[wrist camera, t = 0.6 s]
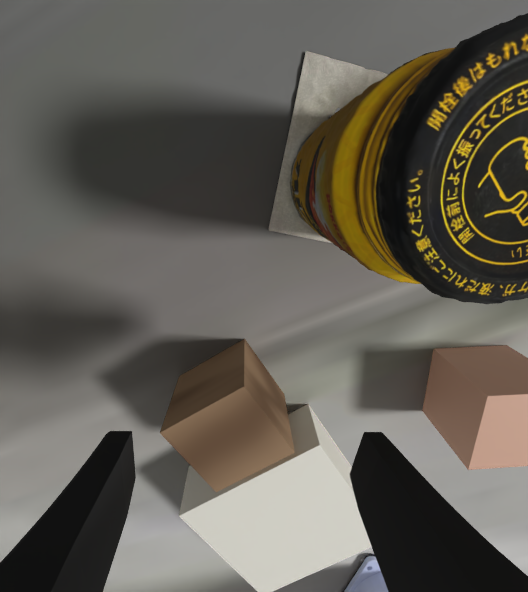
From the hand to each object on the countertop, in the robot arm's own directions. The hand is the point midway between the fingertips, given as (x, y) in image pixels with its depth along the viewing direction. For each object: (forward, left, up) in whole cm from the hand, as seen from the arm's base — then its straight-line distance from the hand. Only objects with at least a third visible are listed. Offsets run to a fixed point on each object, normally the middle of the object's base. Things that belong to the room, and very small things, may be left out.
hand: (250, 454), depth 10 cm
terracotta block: (0, -15, -10) cm, 19 cm away
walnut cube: (-5, 0, -10) cm, 11 cm away
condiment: (+10, -2, -10) cm, 15 cm away
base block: (-12, -6, -11) cm, 17 cm away
